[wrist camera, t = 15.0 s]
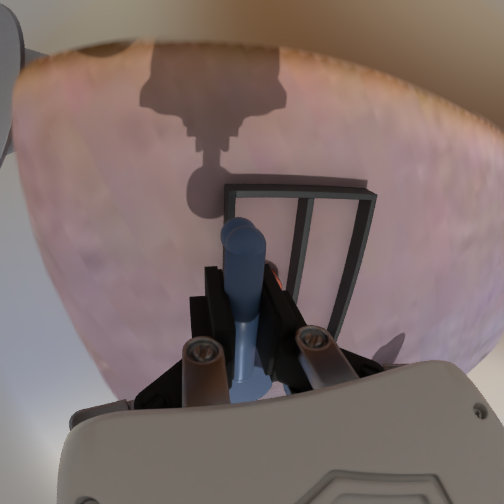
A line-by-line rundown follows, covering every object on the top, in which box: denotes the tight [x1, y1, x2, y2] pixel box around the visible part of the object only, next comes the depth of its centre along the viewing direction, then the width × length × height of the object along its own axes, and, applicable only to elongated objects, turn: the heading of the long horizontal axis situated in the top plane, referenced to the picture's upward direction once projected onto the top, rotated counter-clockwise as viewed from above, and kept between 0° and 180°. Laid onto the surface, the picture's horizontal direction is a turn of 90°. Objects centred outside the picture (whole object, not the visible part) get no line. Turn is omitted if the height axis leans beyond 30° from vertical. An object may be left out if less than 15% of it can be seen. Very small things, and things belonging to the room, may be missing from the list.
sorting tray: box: [223, 184, 377, 342], centre depth 29 cm, size 14×20×3 cm
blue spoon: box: [221, 217, 273, 404], centre depth 13 cm, size 4×11×3 cm, turn 176°
